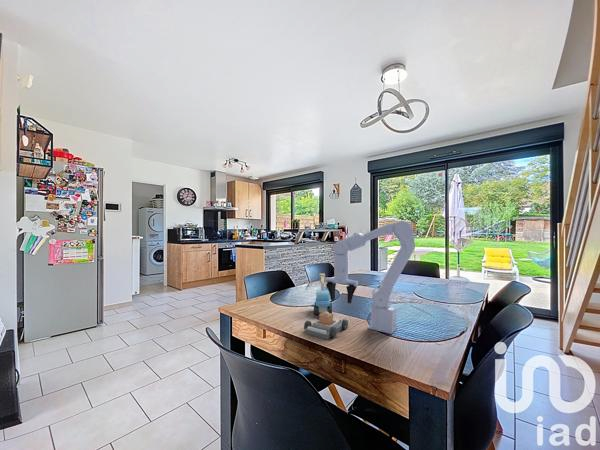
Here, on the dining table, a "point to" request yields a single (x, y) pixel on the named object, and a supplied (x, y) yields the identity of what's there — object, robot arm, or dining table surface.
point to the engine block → (326, 318)
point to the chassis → (325, 328)
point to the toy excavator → (322, 298)
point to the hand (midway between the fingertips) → (341, 301)
